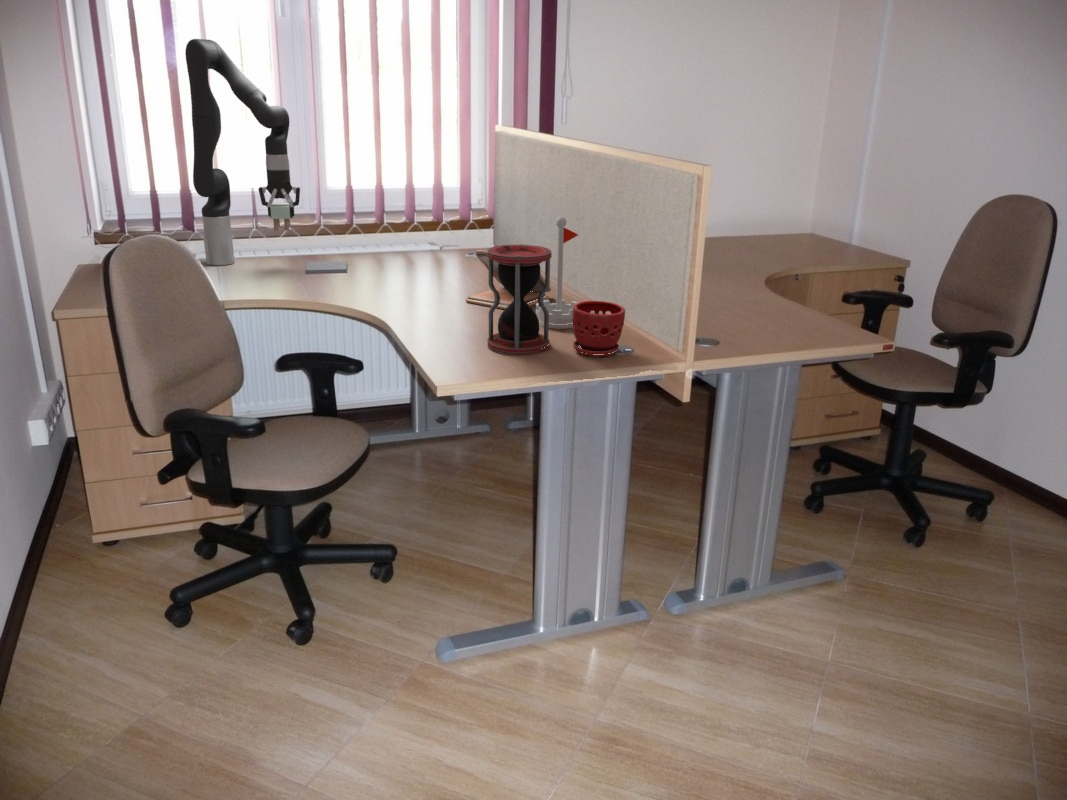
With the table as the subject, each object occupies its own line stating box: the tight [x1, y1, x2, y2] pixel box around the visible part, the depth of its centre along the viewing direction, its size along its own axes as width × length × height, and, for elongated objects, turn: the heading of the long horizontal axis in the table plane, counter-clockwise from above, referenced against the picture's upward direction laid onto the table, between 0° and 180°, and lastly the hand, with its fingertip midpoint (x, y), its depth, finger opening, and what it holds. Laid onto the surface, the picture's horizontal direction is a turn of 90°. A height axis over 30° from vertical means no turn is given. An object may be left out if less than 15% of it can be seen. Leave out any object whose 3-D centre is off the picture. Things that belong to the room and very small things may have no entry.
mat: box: [304, 260, 348, 275], centre depth 306 cm, size 14×14×1 cm
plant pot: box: [572, 300, 626, 358], centre depth 217 cm, size 13×13×12 cm
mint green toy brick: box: [270, 202, 291, 231], centre depth 297 cm, size 6×9×8 cm, turn 11°
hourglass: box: [486, 243, 553, 356], centre depth 218 cm, size 16×16×25 cm
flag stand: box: [535, 216, 579, 330], centre depth 238 cm, size 13×13×30 cm
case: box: [465, 249, 552, 310], centre depth 265 cm, size 20×21×16 cm
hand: (281, 217), depth 297 cm, fingers closed on mint green toy brick, 6 cm apart
